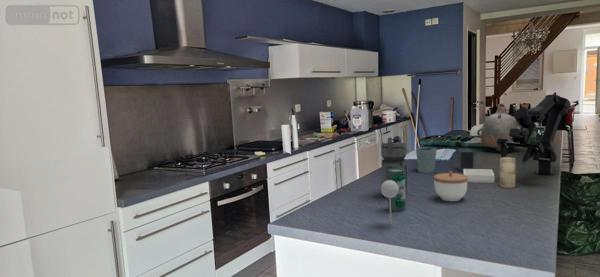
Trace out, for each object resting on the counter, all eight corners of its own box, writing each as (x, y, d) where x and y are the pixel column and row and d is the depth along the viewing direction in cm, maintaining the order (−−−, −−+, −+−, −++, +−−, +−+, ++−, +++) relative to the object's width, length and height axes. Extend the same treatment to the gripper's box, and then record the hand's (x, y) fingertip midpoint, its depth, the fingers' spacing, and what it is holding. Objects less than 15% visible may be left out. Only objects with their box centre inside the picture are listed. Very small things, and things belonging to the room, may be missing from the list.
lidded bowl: (451, 205, 156) (451, 176, 155) (427, 198, 168) (426, 171, 166) (474, 199, 162) (474, 171, 161) (449, 193, 173) (449, 167, 172)
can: (402, 212, 151) (401, 172, 150) (386, 210, 155) (385, 171, 153) (407, 207, 157) (406, 168, 155) (391, 205, 160) (390, 167, 158)
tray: (463, 176, 201) (463, 168, 201) (491, 176, 197) (491, 169, 197) (464, 182, 190) (464, 174, 189) (494, 183, 185) (494, 175, 185)
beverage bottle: (411, 191, 178) (410, 134, 175) (402, 199, 167) (401, 138, 164) (388, 189, 184) (387, 133, 180) (378, 197, 172) (376, 137, 169)
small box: (474, 172, 209) (474, 151, 207) (460, 172, 210) (460, 151, 209) (469, 167, 219) (469, 148, 218) (456, 167, 220) (456, 148, 219)
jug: (484, 154, 253) (484, 105, 249) (475, 149, 274) (475, 103, 270) (527, 153, 248) (528, 103, 245) (515, 148, 269) (515, 101, 266)
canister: (498, 184, 183) (499, 157, 182) (514, 184, 181) (514, 157, 180) (500, 187, 178) (500, 159, 176) (516, 187, 175) (516, 160, 174)
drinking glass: (415, 172, 214) (414, 149, 212) (417, 168, 223) (417, 146, 222) (435, 173, 210) (435, 150, 208) (437, 169, 219) (437, 146, 218)
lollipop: (379, 221, 143) (378, 179, 141) (396, 220, 143) (395, 177, 141) (384, 227, 137) (383, 183, 135) (402, 226, 137) (401, 181, 135)
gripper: (498, 120, 189) (484, 147, 184) (541, 122, 173) (527, 151, 168) (507, 135, 194) (494, 162, 189) (550, 138, 179) (536, 167, 174)
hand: (512, 160), depth 180 cm, fingers open, 9 cm apart
